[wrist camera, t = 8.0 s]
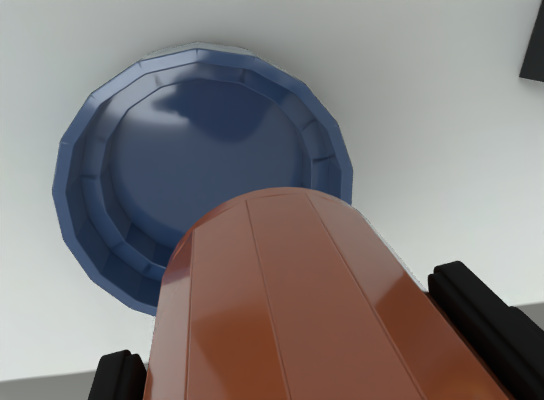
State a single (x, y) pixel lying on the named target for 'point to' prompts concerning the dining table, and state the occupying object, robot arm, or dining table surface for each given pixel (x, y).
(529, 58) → the food platter
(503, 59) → the dining table surface
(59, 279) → the dining table surface
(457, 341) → the cup
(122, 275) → the bowl
